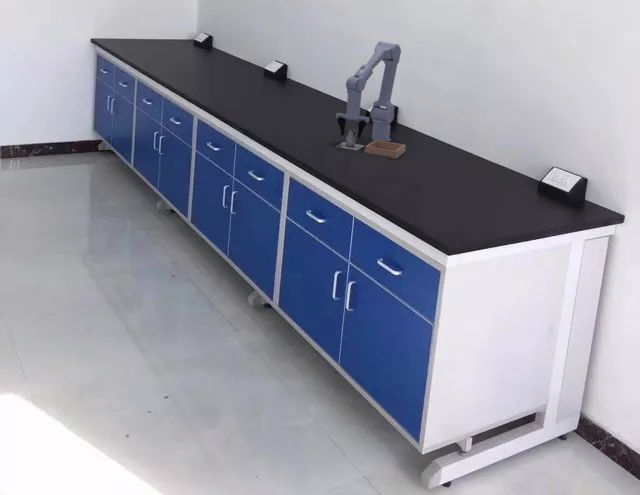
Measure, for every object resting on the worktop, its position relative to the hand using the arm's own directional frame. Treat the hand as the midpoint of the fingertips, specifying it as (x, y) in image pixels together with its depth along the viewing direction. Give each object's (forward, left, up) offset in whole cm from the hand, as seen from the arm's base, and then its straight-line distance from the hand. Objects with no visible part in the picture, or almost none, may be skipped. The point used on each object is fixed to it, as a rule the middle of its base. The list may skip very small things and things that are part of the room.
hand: (350, 136), depth 344 cm
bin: (0, +16, -5) cm, 17 cm away
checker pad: (0, 0, -5) cm, 5 cm away
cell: (0, 0, -4) cm, 4 cm away
